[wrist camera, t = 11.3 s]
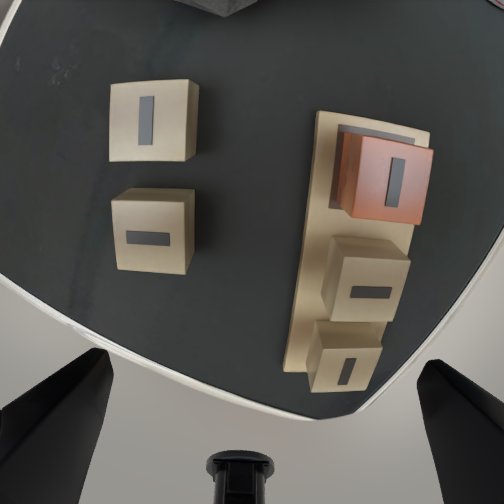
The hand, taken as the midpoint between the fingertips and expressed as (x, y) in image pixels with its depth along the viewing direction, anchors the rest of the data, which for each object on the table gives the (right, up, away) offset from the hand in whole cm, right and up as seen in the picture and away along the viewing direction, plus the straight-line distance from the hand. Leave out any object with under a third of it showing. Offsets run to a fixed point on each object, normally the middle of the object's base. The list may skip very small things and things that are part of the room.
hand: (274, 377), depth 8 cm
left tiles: (-6, +8, +10) cm, 14 cm away
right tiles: (+6, -1, +12) cm, 14 cm away
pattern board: (+6, +3, +12) cm, 14 cm away
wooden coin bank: (+6, +8, +9) cm, 13 cm away
